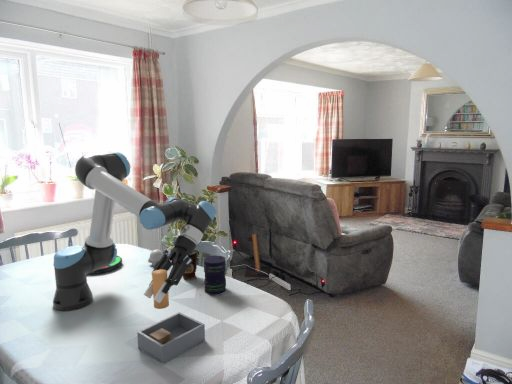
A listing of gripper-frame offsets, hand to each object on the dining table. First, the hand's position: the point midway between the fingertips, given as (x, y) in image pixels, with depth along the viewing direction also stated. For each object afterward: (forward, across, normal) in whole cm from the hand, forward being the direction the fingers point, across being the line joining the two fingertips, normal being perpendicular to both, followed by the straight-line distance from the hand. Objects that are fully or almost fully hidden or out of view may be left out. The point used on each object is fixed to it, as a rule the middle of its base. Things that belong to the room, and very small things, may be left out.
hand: (151, 298), depth 125 cm
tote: (+9, +4, +15) cm, 18 cm away
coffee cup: (-20, -36, +44) cm, 60 cm away
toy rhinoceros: (-20, -62, +44) cm, 79 cm away
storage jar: (-19, -16, +42) cm, 49 cm away
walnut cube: (+11, +5, +11) cm, 16 cm away
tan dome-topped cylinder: (0, 0, +5) cm, 5 cm away
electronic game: (-5, -85, +28) cm, 90 cm away
